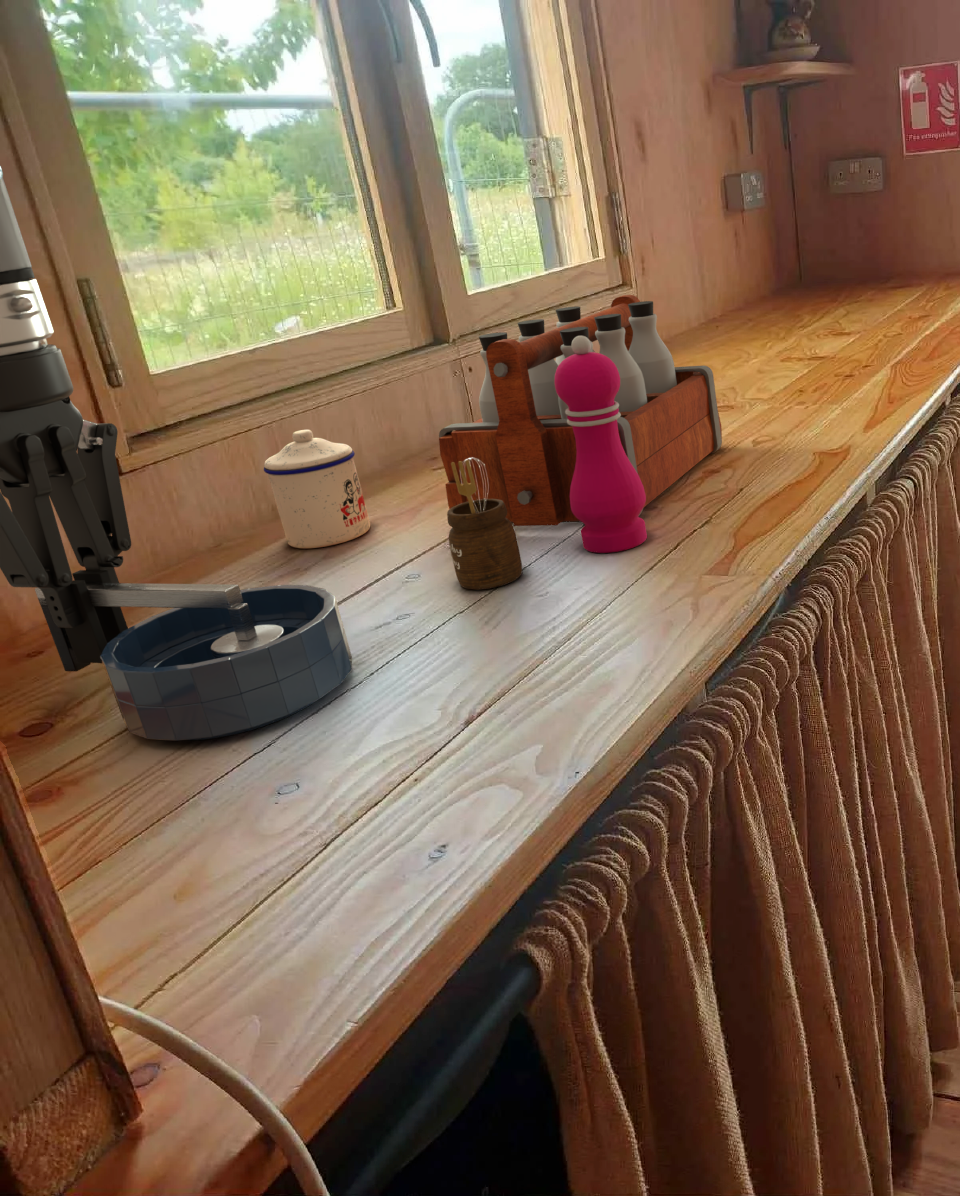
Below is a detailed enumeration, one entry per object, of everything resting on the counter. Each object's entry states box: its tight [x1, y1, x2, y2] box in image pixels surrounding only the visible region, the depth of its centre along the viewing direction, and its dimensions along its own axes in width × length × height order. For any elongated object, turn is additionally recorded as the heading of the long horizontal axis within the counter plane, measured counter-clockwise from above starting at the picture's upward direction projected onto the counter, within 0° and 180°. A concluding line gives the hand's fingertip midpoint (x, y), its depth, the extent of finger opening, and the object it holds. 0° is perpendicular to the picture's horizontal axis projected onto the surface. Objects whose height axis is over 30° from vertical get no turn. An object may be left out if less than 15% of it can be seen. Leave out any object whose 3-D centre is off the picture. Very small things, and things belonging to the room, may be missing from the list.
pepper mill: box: [554, 336, 648, 554], centre depth 106 cm, size 7×7×20 cm
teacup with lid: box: [263, 429, 371, 549], centre depth 121 cm, size 12×9×12 cm
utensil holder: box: [447, 458, 523, 591], centre depth 101 cm, size 6×6×12 cm
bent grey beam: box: [34, 582, 285, 672], centre depth 85 cm, size 20×5×7 cm, turn 74°
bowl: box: [100, 584, 353, 741], centre depth 83 cm, size 16×16×6 cm
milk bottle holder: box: [438, 294, 723, 527], centre depth 127 cm, size 21×35×19 cm, turn 165°
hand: (106, 654), depth 87 cm, fingers closed on bent grey beam, 1 cm apart
